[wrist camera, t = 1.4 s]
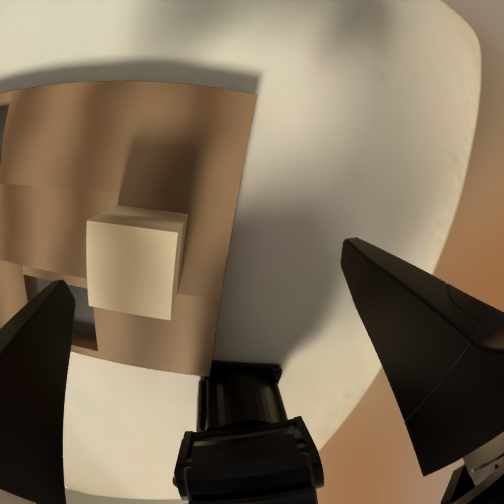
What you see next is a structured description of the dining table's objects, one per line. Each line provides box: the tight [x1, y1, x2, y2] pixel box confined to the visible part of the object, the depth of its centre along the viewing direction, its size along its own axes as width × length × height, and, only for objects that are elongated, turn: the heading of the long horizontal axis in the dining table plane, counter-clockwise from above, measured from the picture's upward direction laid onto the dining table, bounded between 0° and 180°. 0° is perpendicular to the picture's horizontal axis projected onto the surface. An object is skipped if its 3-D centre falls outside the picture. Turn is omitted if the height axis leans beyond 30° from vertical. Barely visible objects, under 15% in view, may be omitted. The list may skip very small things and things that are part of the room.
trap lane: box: [0, 81, 257, 377], centre depth 15 cm, size 32×20×4 cm, turn 80°
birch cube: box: [86, 205, 188, 320], centre depth 15 cm, size 4×4×4 cm
